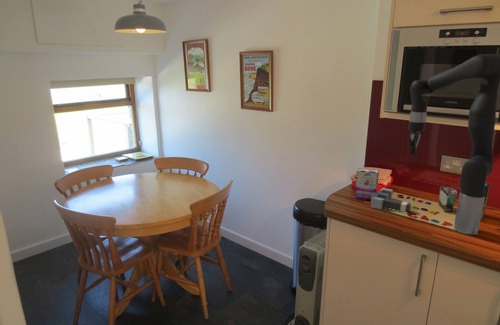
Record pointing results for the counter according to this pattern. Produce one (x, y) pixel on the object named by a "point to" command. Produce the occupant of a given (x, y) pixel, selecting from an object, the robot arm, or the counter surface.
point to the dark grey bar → (396, 204)
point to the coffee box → (487, 186)
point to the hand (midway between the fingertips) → (413, 154)
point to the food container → (447, 198)
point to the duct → (377, 201)
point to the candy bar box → (366, 183)
